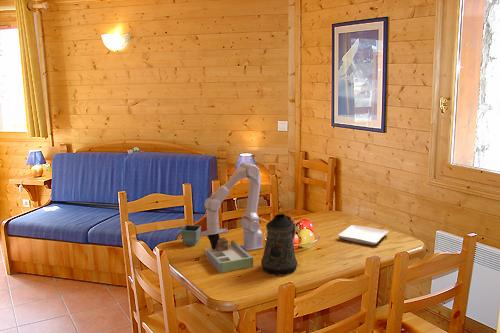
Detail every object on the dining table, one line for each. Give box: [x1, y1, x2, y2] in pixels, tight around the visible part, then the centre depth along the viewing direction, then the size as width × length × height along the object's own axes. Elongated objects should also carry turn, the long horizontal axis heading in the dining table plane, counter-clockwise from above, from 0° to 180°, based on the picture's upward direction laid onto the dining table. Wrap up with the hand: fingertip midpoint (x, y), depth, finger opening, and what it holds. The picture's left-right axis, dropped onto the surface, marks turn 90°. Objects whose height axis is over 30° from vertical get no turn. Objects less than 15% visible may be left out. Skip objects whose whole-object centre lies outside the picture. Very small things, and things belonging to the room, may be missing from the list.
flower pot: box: [179, 224, 202, 247], centre depth 255 cm, size 9×9×9 cm
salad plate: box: [337, 224, 389, 246], centre depth 261 cm, size 21×21×3 cm
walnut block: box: [215, 236, 229, 252], centre depth 241 cm, size 5×5×5 cm
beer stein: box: [260, 213, 298, 277], centre depth 222 cm, size 16×19×25 cm
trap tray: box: [204, 240, 254, 274], centre depth 234 cm, size 16×25×4 cm, turn 23°
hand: (213, 248), depth 240 cm, fingers closed
